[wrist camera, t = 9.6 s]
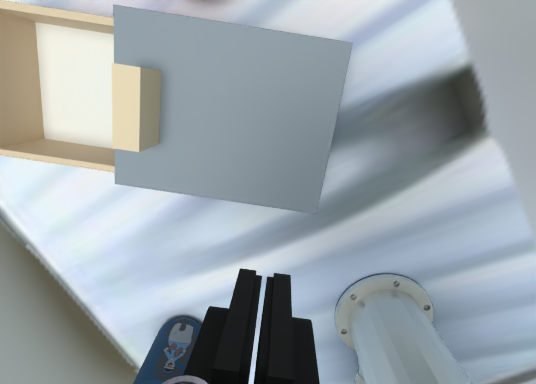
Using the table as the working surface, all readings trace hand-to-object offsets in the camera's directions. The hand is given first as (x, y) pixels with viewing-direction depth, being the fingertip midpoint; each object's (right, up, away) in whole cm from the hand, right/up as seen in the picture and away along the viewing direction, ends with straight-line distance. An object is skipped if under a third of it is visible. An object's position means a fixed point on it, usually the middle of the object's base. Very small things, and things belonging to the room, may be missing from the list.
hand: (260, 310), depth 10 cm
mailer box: (-16, +14, +23) cm, 31 cm away
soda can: (-11, -16, +33) cm, 38 cm away
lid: (-3, +11, +17) cm, 21 cm away
